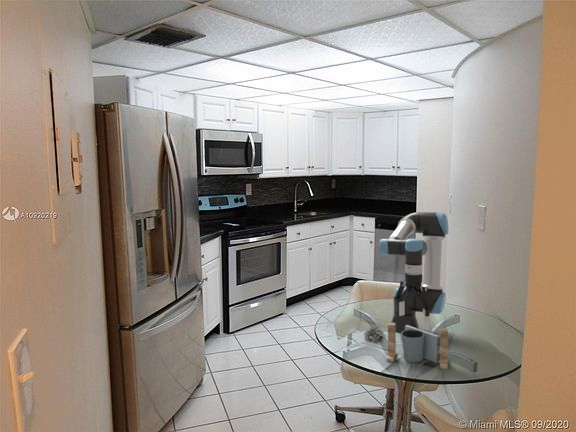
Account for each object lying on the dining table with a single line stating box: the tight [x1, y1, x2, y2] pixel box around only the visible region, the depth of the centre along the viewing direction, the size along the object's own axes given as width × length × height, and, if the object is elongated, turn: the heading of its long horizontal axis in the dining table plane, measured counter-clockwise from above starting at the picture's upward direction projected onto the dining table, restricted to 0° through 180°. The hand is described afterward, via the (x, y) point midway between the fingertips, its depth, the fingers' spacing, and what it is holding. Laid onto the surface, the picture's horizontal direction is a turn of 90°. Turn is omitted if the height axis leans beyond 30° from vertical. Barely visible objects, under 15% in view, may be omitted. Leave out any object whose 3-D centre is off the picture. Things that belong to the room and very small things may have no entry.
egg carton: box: [363, 327, 384, 343], centre depth 229 cm, size 11×8×4 cm
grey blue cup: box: [400, 329, 424, 364], centre depth 201 cm, size 10×10×12 cm
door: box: [405, 325, 441, 364], centre depth 204 cm, size 3×19×12 cm, turn 34°
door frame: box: [386, 321, 449, 370], centre depth 199 cm, size 10×26×16 cm, turn 68°
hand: (413, 319), depth 200 cm, fingers open, 13 cm apart
